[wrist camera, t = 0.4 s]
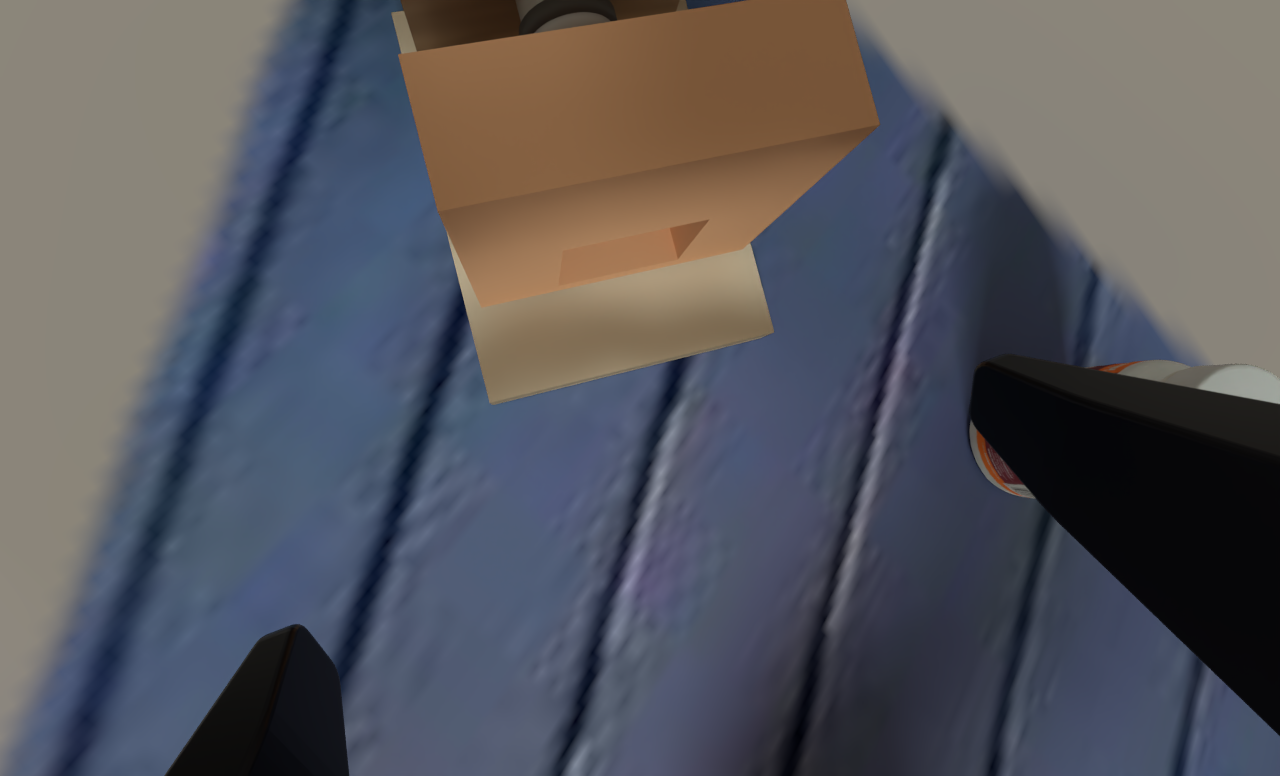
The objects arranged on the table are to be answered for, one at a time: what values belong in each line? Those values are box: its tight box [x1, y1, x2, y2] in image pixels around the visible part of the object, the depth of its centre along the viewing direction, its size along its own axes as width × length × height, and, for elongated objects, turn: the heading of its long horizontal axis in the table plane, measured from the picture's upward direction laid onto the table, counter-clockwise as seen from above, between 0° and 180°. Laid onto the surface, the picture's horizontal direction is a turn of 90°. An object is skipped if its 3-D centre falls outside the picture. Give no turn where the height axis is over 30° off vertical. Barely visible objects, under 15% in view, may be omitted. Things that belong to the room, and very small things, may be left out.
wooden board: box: [398, 0, 880, 308], centre depth 17 cm, size 3×9×9 cm, turn 105°
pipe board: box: [391, 0, 774, 405], centre depth 18 cm, size 13×10×10 cm
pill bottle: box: [969, 360, 1280, 499], centre depth 21 cm, size 5×5×8 cm
